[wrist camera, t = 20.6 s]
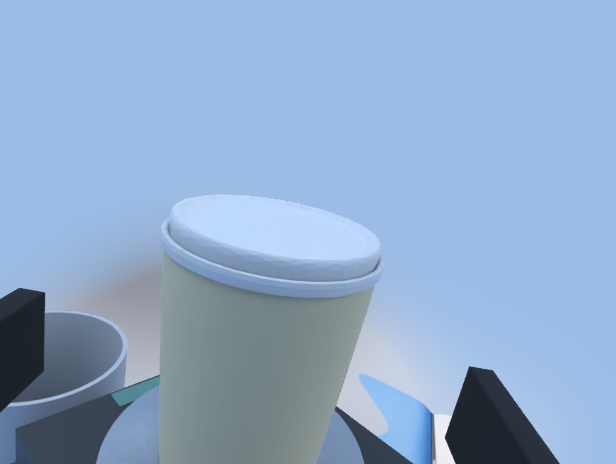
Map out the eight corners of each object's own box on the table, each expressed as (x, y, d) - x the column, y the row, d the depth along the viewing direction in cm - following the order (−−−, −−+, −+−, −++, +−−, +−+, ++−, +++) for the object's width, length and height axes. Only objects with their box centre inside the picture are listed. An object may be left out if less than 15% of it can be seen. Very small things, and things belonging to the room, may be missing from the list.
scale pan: (410, 476, 22) (413, 467, 21) (201, 715, 12) (204, 702, 12) (252, 354, 29) (253, 346, 29) (48, 436, 20) (48, 426, 20)
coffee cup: (360, 444, 22) (417, 237, 19) (251, 597, 14) (317, 289, 11) (232, 367, 27) (261, 188, 23) (95, 452, 19) (109, 199, 15)
